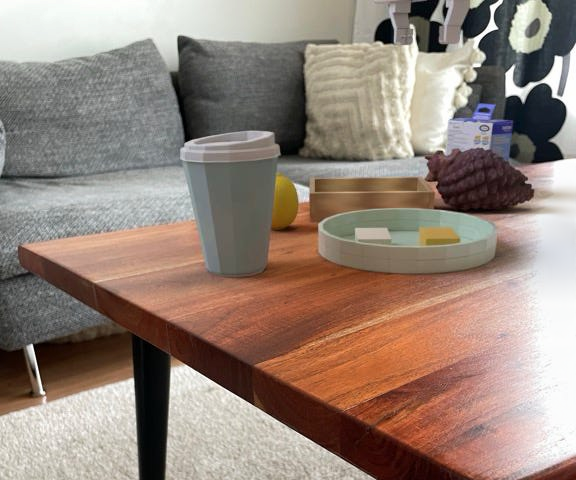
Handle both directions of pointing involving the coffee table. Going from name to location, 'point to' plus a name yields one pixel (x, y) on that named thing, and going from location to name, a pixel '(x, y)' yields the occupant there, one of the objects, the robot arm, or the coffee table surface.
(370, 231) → the block
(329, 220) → the round tray
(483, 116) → the ink cartridge box
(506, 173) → the pine cone
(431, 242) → the block
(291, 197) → the lemon
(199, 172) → the disposable coffee cup
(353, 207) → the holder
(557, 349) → the coffee table surface
